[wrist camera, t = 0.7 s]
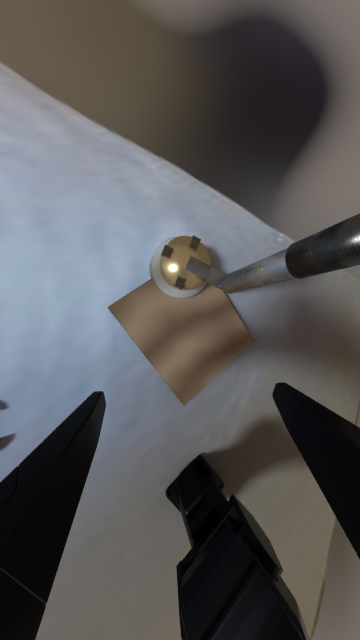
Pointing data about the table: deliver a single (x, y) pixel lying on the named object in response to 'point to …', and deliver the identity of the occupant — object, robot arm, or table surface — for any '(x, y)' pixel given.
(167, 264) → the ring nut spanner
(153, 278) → the brown wooden board
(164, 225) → the table surface
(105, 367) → the table surface
